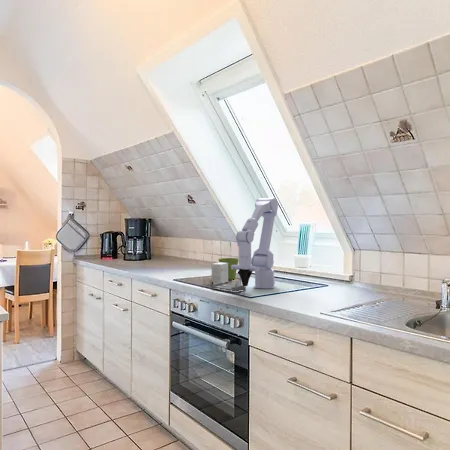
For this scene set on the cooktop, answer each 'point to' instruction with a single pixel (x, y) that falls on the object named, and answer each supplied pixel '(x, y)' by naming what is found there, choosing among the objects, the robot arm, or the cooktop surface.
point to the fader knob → (235, 283)
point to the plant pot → (230, 262)
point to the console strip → (228, 287)
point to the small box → (219, 272)
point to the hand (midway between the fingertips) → (245, 285)
